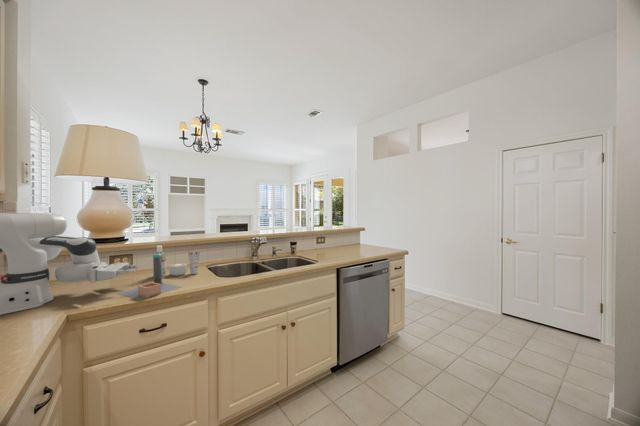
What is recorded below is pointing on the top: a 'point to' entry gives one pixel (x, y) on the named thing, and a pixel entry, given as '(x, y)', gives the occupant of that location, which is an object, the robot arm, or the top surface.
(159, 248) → the cosmetic set
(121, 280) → the top surface
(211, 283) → the top surface
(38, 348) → the top surface
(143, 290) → the pink open box
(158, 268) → the marker
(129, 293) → the board
